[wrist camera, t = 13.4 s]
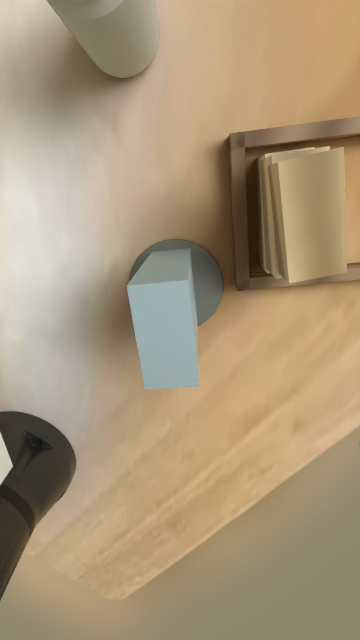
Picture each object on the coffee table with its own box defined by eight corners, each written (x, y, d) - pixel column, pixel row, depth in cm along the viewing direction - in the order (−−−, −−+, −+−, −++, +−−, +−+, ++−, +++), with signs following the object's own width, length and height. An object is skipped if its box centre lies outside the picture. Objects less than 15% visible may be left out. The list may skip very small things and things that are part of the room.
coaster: (137, 332, 37) (137, 334, 36) (122, 244, 33) (121, 245, 33) (225, 325, 36) (225, 326, 36) (219, 234, 32) (220, 234, 32)
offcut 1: (259, 264, 33) (267, 273, 30) (256, 159, 30) (264, 153, 26) (298, 260, 33) (311, 268, 29) (299, 153, 30) (315, 147, 26)
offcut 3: (278, 273, 26) (289, 283, 23) (267, 165, 23) (277, 162, 20) (330, 263, 25) (347, 272, 22) (325, 152, 22) (343, 146, 20)
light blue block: (161, 323, 36) (144, 390, 24) (151, 252, 33) (126, 285, 21) (197, 320, 35) (198, 386, 23) (190, 248, 33) (187, 279, 20)
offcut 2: (265, 268, 30) (275, 278, 26) (260, 161, 26) (271, 155, 23) (310, 262, 29) (326, 272, 25) (310, 152, 26) (329, 146, 22)
